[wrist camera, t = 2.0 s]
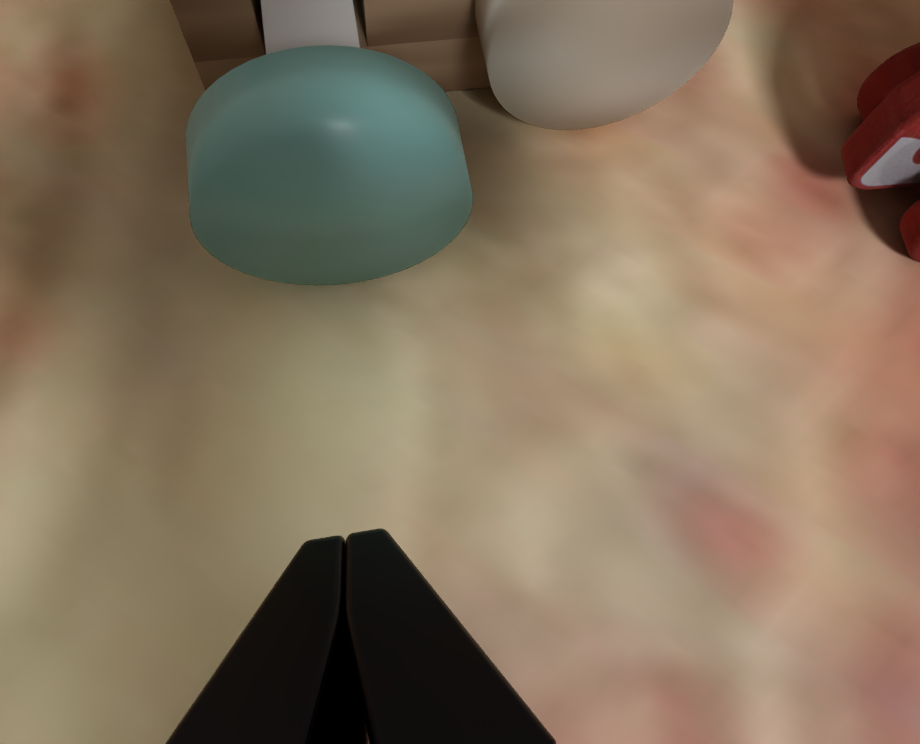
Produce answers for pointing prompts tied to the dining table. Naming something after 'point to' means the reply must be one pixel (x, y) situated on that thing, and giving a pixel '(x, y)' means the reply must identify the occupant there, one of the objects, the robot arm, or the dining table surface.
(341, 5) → the teal knob
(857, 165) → the toy fire truck
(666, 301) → the dining table surface
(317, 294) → the dining table surface
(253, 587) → the dining table surface
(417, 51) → the walnut mount
